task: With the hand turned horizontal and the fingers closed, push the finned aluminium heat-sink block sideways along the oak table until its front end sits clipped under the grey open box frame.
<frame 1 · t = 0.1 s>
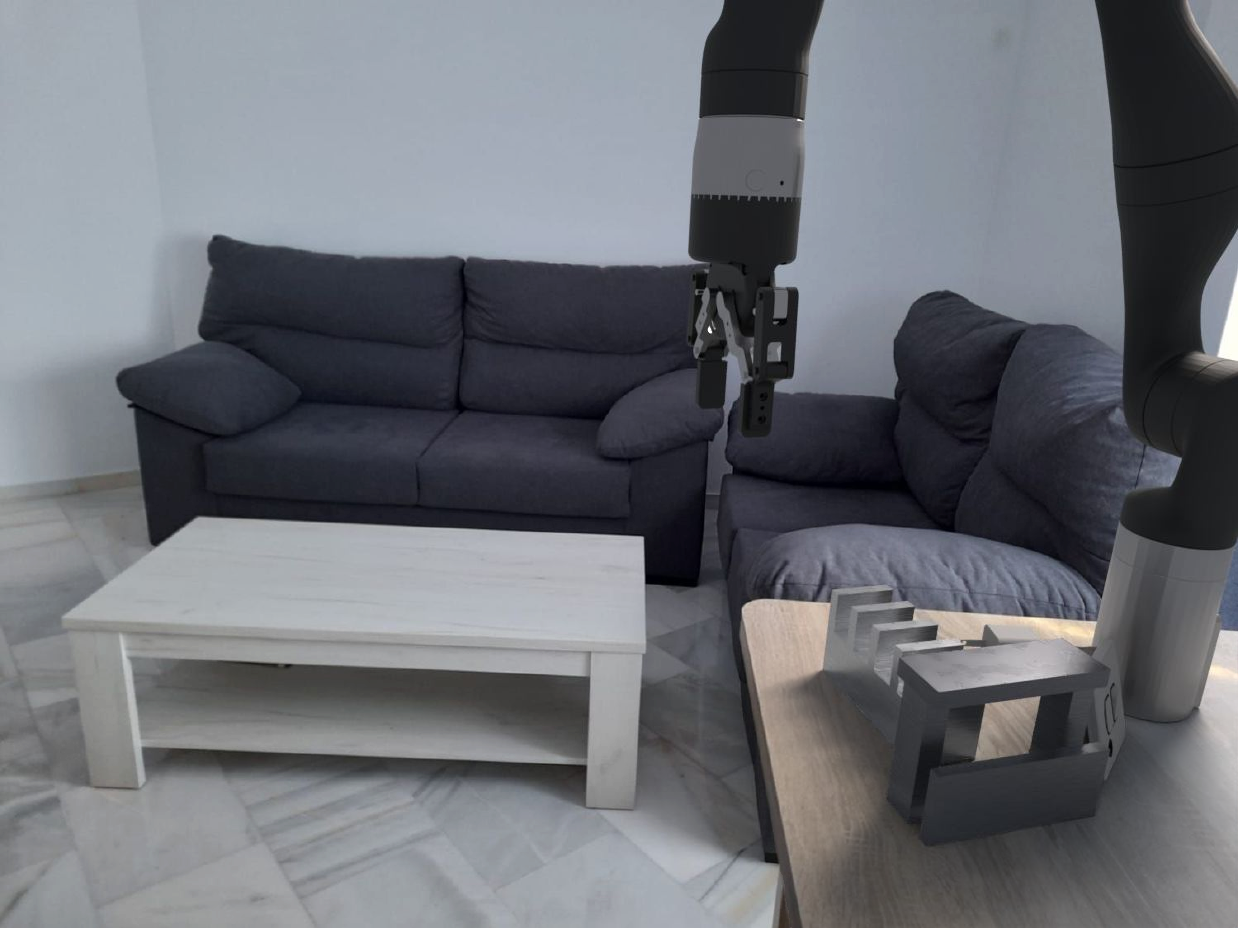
hand: (730, 420, 65), 29 cm above the table, tool pointing down, fingers open, 8 cm apart
usb wall charger: (994, 667, 90), on the table
heatsink block: (892, 711, 82), on the table
electrical switch: (1080, 751, 77), on the table
grey open box frame: (979, 796, 70), on the table
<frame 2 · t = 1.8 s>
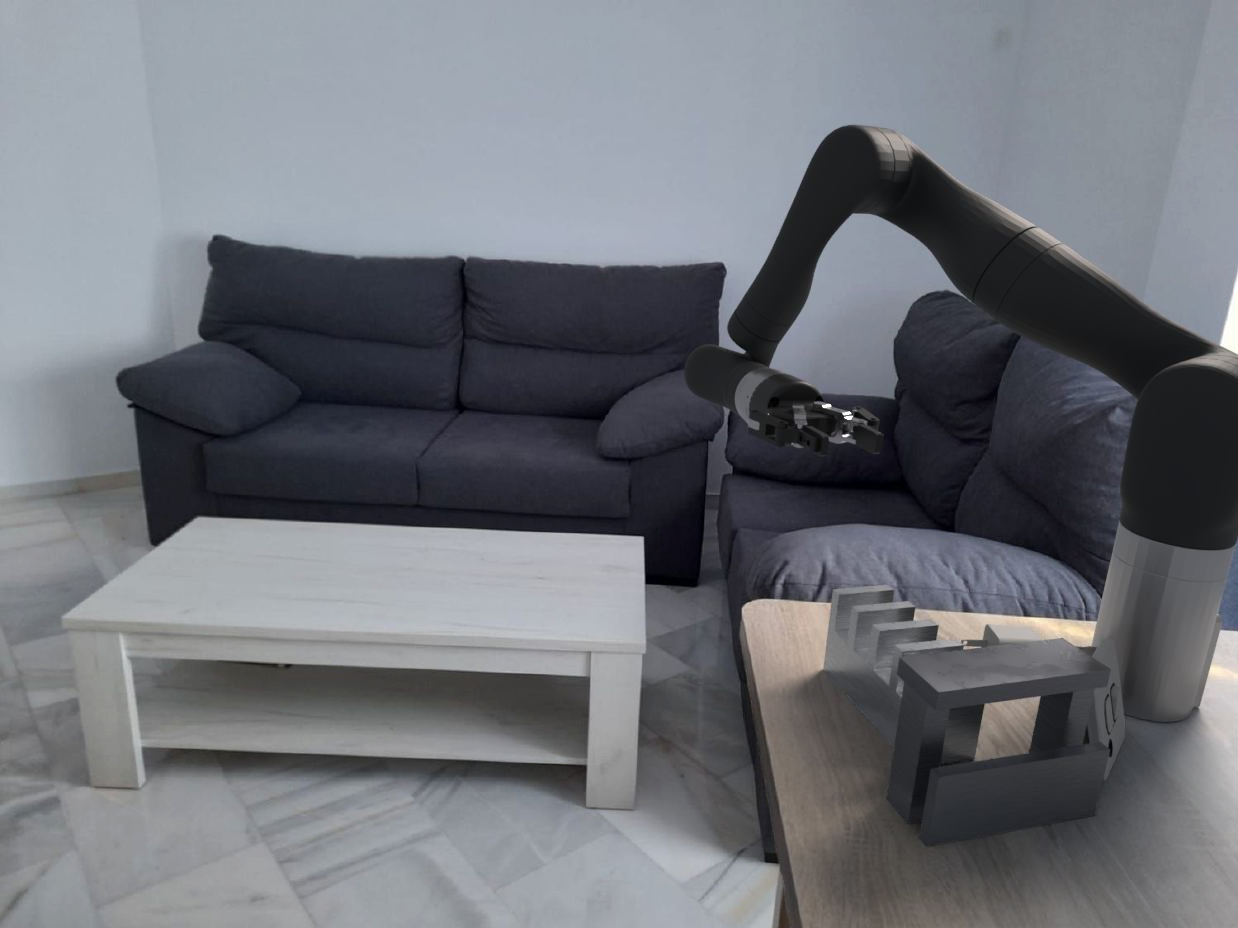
hand: (852, 445, 86), 22 cm above the table, tool horizontal, fingers open, 5 cm apart
nothing on the table moved.
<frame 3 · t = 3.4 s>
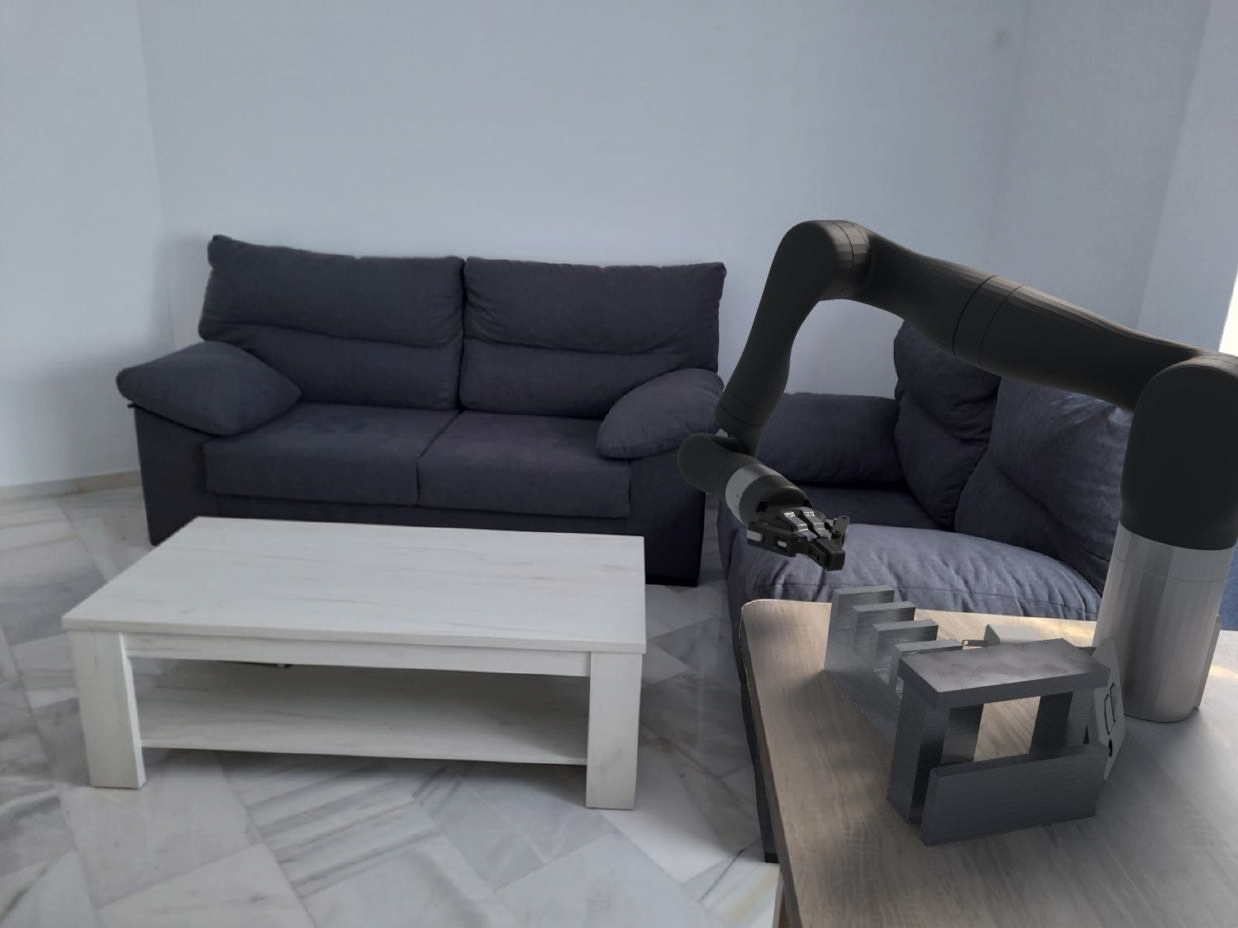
hand: (837, 562, 90), 10 cm above the table, tool horizontal, fingers closed
nothing on the table moved.
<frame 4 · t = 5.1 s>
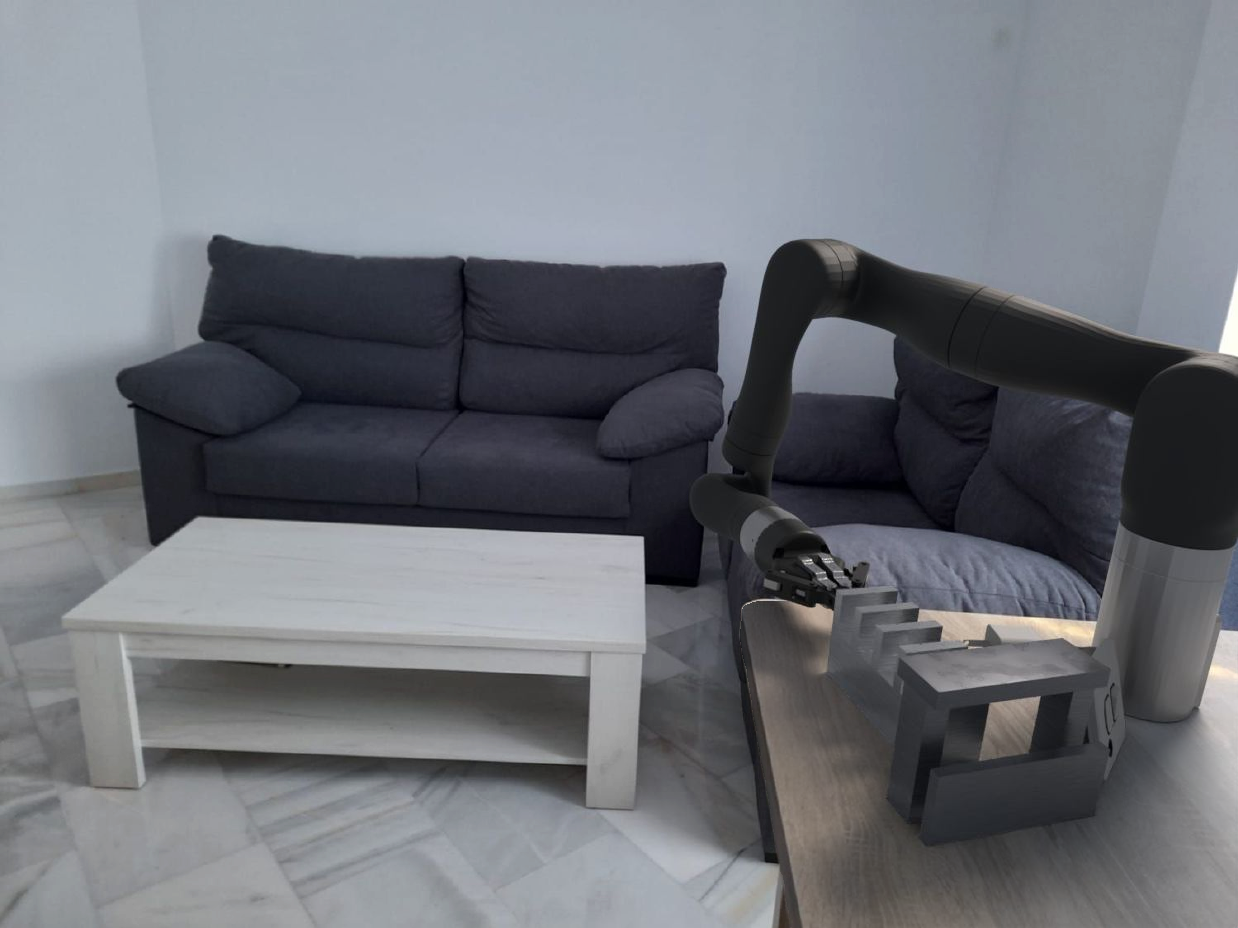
hand: (858, 614, 87), 6 cm above the table, tool horizontal, fingers closed
heatsink block: (896, 713, 81), on the table, touching gripper
everything else where it was.
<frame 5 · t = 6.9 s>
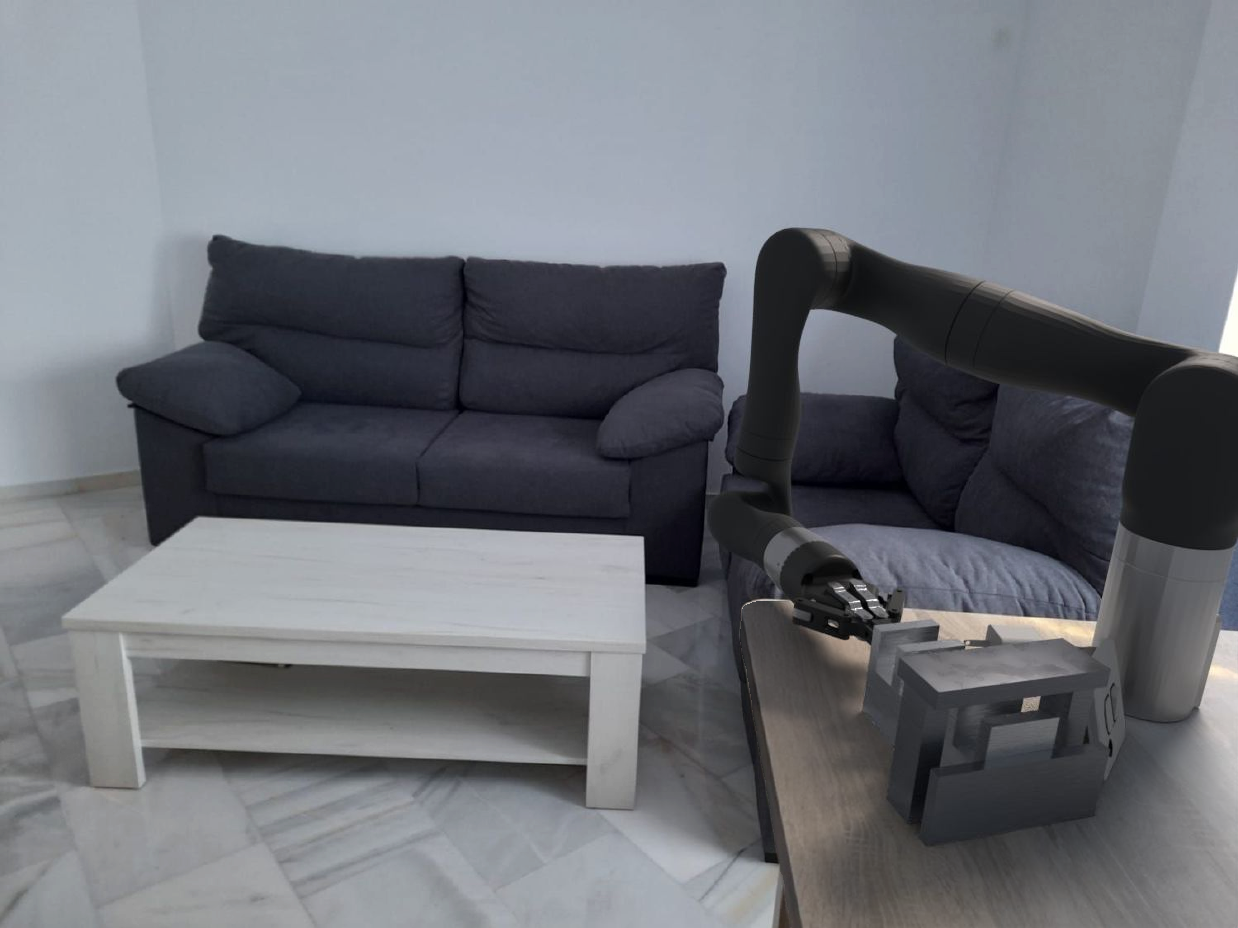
hand: (898, 648, 80), 6 cm above the table, tool horizontal, fingers closed
heatsink block: (942, 760, 75), on the table
everything else where it was.
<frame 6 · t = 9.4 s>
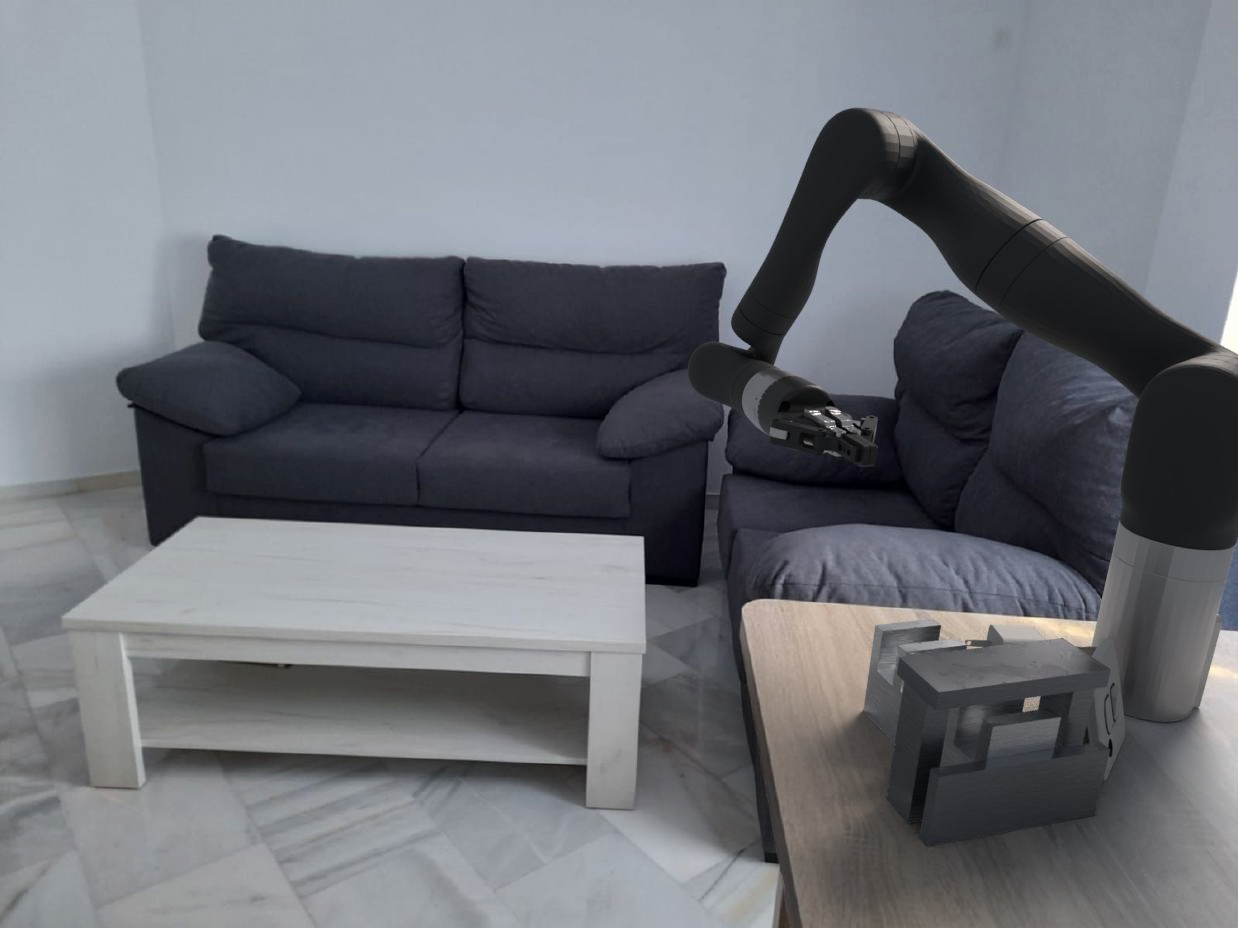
hand: (869, 456, 84), 22 cm above the table, tool horizontal, fingers closed
nothing on the table moved.
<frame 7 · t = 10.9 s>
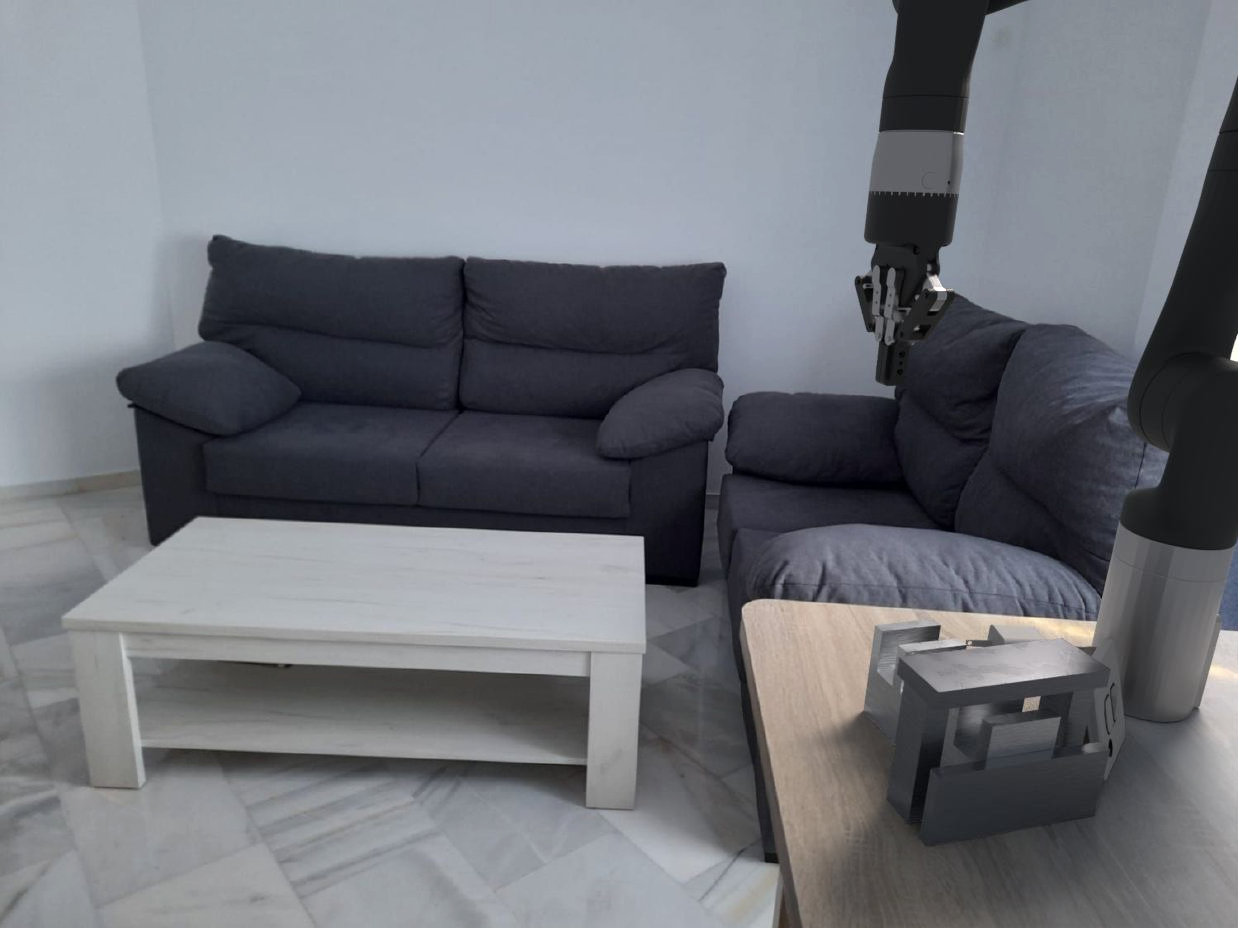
hand: (889, 383, 82), 29 cm above the table, tool pointing down, fingers closed
nothing on the table moved.
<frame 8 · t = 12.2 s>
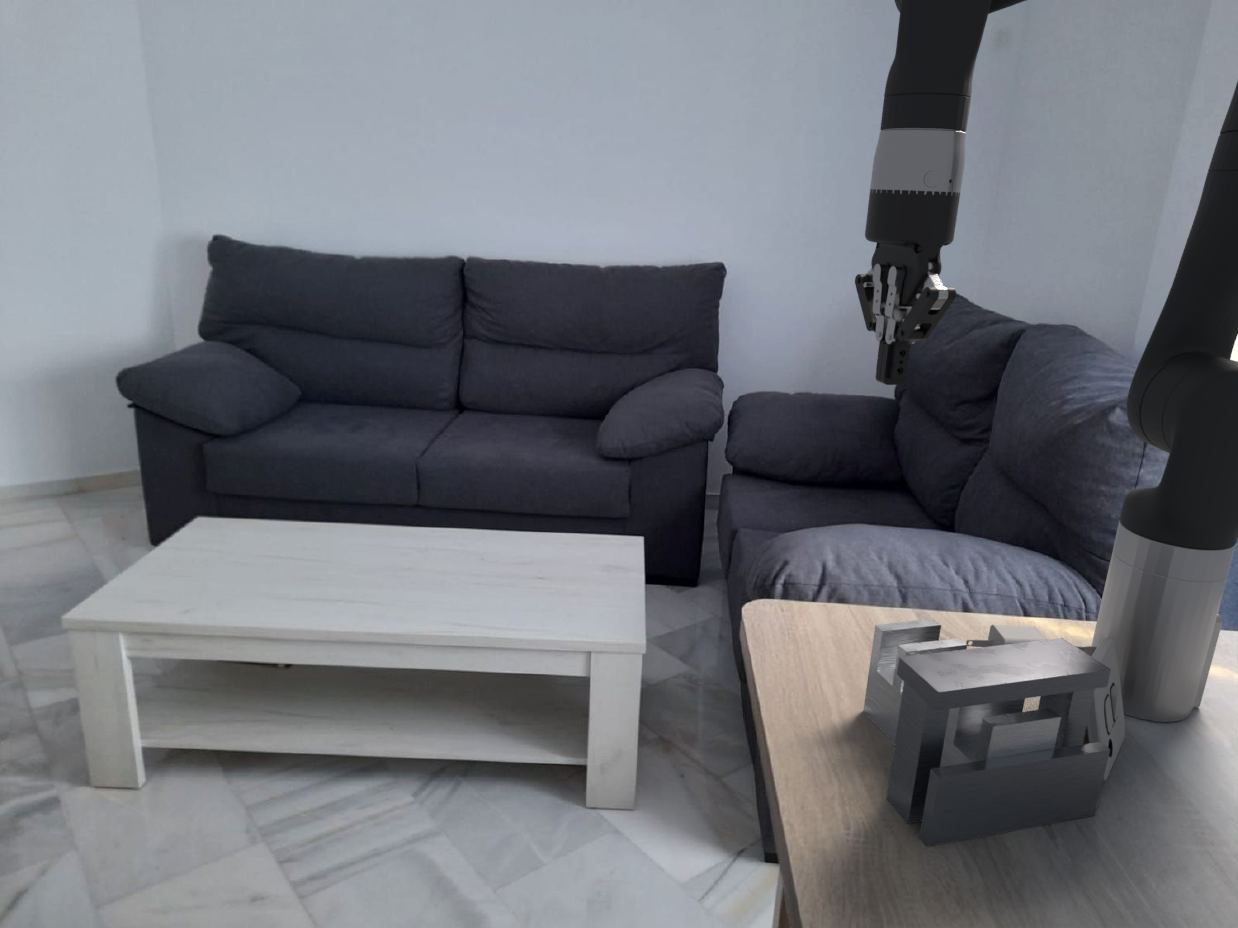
hand: (889, 382, 81), 29 cm above the table, tool pointing down, fingers closed
nothing on the table moved.
at the end: heatsink block inside the target area (0.3 cm from its centre), on the table; heatsink block tilted 0° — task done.
